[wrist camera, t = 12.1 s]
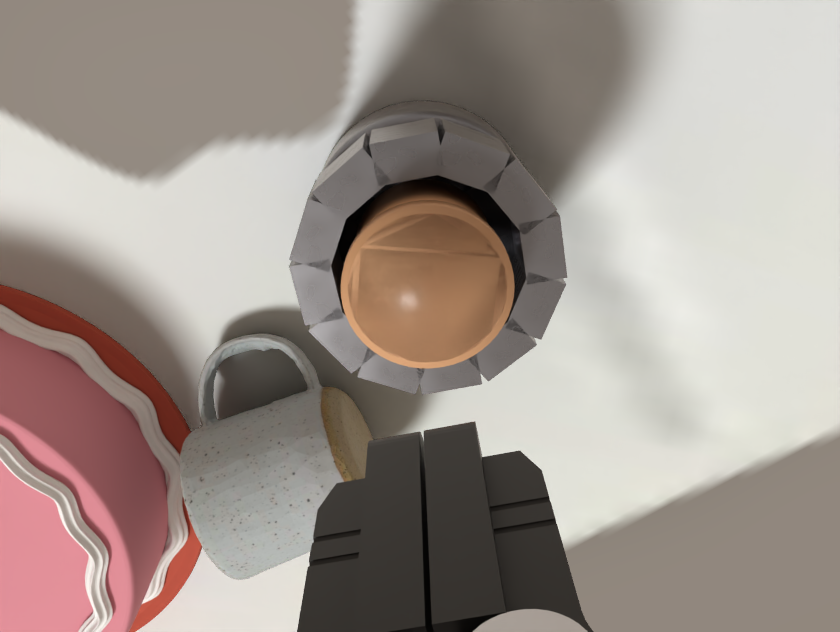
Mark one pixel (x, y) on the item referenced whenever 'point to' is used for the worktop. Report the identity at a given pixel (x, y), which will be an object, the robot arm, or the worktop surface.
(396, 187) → the cap
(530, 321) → the canister
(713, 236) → the worktop surface
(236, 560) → the ceramic mug
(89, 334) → the cake
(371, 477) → the robot arm
